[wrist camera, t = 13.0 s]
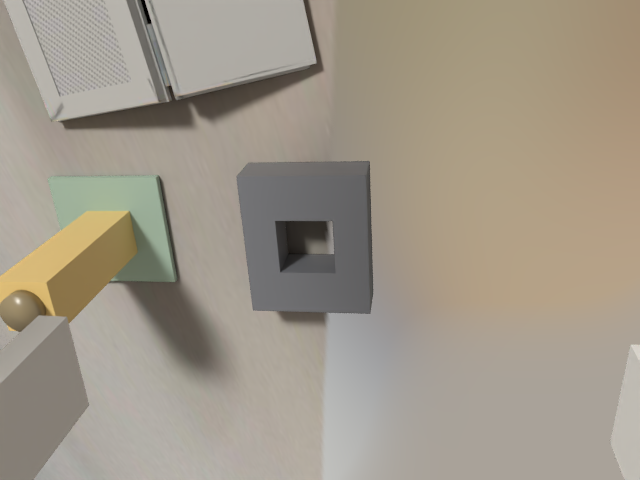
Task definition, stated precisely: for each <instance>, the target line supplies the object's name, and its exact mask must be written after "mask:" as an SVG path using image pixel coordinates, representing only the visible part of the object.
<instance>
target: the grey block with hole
mask: <svg viewBox="0 0 640 480" xmlns="http://www.w3.org/2000/svg"><path fill="white" fill-rule="evenodd" d="M237 185H238V193H239V201H240V209H241V217H242V225H243V233H244V241H245V250H246V258H247V266H248V274H249V282H250V290H251V298H252V306H253V310H257V311H293V312H329V313H366V314H370V311H371V304H372V297H373V272H372V271H373V270H372V234H371V199H370V162H369V161H353V162H277V163H248V164H247V165H246V166H245V167H244V168H243V170H242V171H241V172H240V173H239V174H238V175H237ZM286 221H333V236H334V254H288V243H287V232H286Z"/></svg>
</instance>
